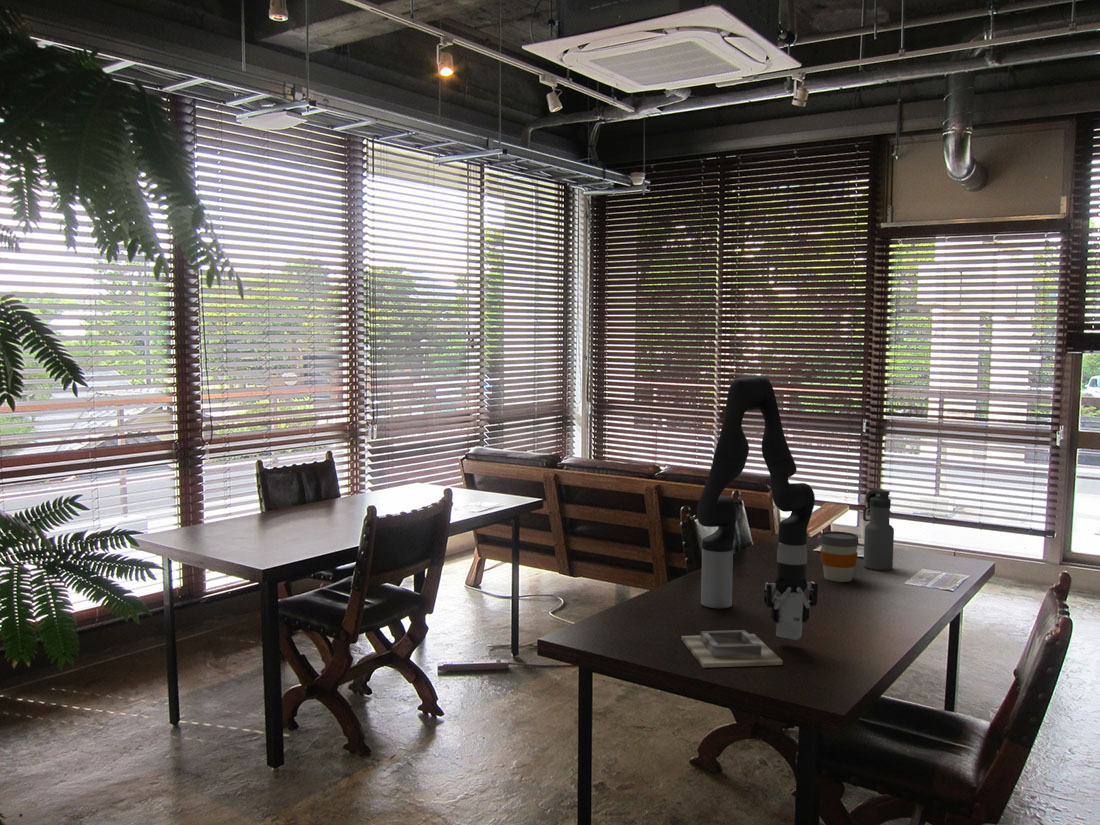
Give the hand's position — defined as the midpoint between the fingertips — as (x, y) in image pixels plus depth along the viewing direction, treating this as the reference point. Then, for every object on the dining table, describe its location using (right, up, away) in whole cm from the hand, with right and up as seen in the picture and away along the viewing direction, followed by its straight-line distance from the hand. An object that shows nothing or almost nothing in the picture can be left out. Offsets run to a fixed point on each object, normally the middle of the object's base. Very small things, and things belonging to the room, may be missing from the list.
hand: (789, 621), depth 219 cm
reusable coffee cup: (+36, -2, +67) cm, 76 cm away
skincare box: (0, -4, 0) cm, 4 cm away
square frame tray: (-17, -7, -5) cm, 19 cm away
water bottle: (+55, -1, +83) cm, 99 cm away
